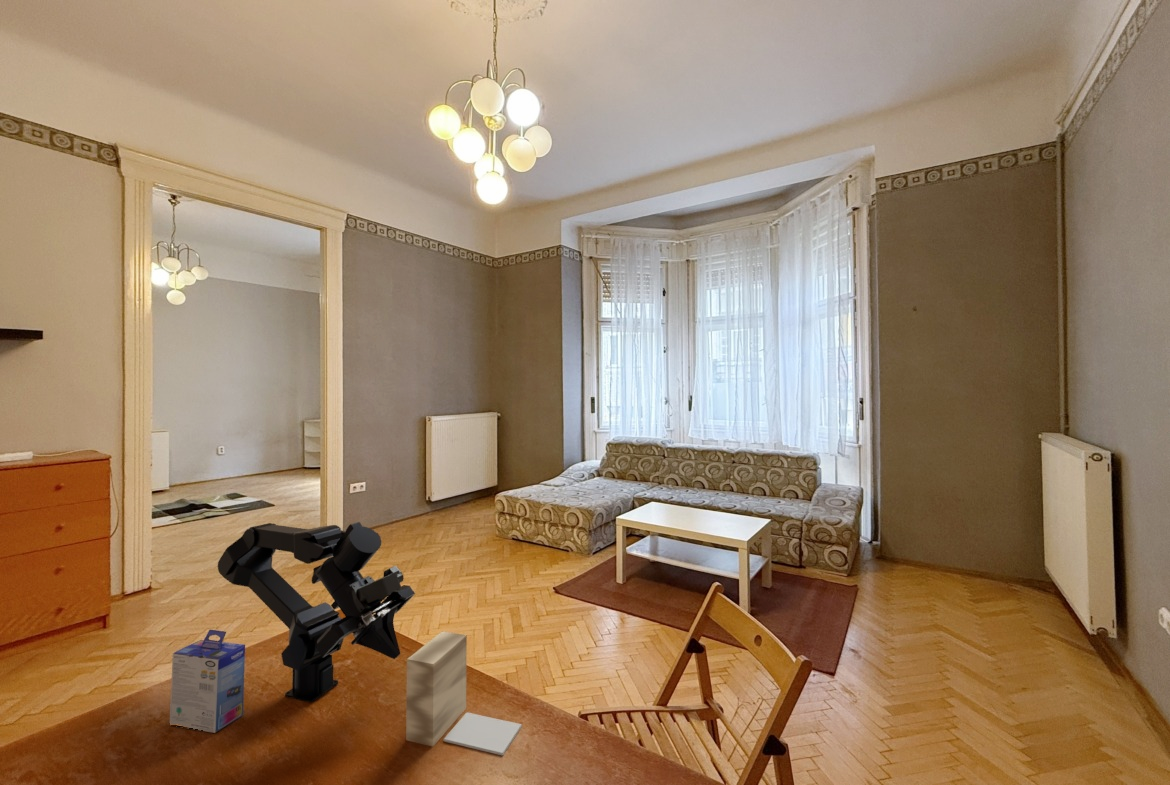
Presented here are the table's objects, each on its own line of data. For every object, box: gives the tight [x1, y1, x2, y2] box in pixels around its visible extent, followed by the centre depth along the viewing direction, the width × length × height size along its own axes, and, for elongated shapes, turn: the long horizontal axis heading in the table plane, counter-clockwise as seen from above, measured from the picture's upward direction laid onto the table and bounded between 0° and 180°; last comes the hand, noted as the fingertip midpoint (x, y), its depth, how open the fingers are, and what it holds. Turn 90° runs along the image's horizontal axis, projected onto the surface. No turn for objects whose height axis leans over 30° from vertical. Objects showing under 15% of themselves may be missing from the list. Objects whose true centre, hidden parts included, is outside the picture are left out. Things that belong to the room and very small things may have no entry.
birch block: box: [405, 631, 468, 747], centre depth 83 cm, size 5×10×13 cm, turn 163°
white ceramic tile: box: [443, 712, 523, 756], centre depth 80 cm, size 10×7×1 cm, turn 73°
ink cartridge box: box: [168, 629, 246, 734], centre depth 84 cm, size 10×6×14 cm, turn 78°
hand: (397, 656), depth 85 cm, fingers closed
